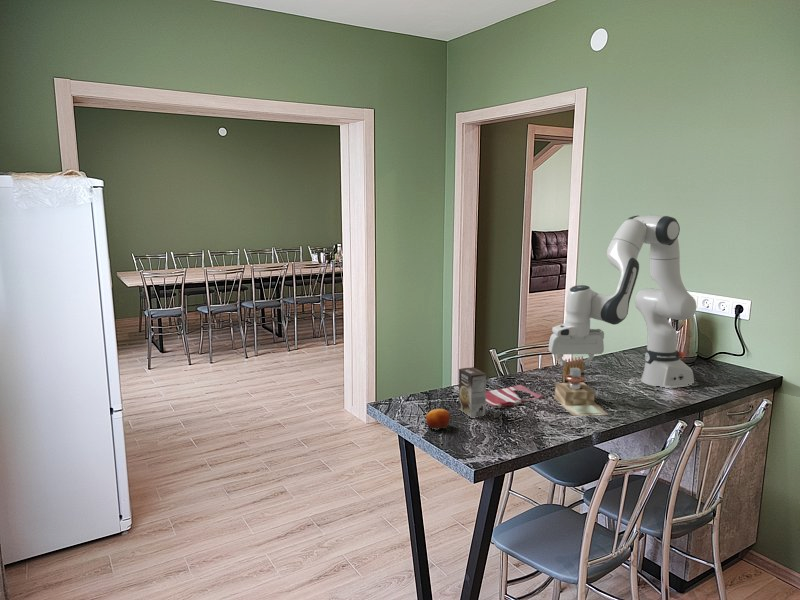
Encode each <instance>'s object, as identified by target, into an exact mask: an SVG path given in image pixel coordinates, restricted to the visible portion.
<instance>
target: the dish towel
mask: <svg viewBox="0 0 800 600" xmlns="http://www.w3.org/2000/svg"><path fill="white" fill-rule="evenodd" d="M515 391H519V392H525V393H528V394H529V395H531V396H533V398H528V399H527V398H526V399H521V398H520V397H519V395H518V394H517V393H516V392H515ZM544 398H545V396H544V395H542V394H539V393H537V392H534V391H532V390H530V389H529V388H527V387H526V386H524V385H521V384H516V385H514V386H510V387H506V388H504V387H503V388H498V389H494V390H486V404H488V405H490V406H492V407H494V408H501V409H503V408H502V407H506V406H513V405H517V404H522V403H524V402H530V401H536V400H540V399H544ZM522 405H523V404H522ZM517 406H518V405H517ZM513 407H514V406H513Z"/></svg>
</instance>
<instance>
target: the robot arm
mask: <svg viewBox="0 0 800 600" xmlns="http://www.w3.org/2000/svg"><path fill="white" fill-rule="evenodd" d="M680 228H681V227H680V224H679V222H678V220H677V219H676V218H674V217H673V216H669V215H664V216H663V215H656V214H651V215H633V216H631V217H628V218H627V219H625V220H624V221H623V222H622V224H621V225H620V226H619V227H618V229H617V230H616V232H615V234H614V235H613V237H612V239H611V241H610V242H609V245H608V247H607V248H606V249H607V250H606V258H607V261H608V262H609V263H610V265H611V266H612V267H614V268H615V269H617V270H618V271H619V273H620V276H619V277H620V278H619V281H618V284H617V285H616V286H617V287H616V290H615V292H614V293H613V294H612V295H608V294H603V293H598V292H596V291H595V290H592V288H591V287H590V286H588V285H584V284H583V285H582V284H581V285H579V284H578V285H574V286H571V287H570V288H569V290H568V292H567V296H566V305H565V310H566V318H565V320H564V321H565V322H564V323H561V324H558V325H555V326H553V327H552V328H551V331H552V333H551V335H550V337H549V341H548V351H549V353H550V354H552V355H557V357H558V359H559V362H560V363H559V364H560V366H561V367H564V366H566V361H565V359H563V358H564V355H588V357H587V359H584V366H591V361H592V360H593V359H594V357H595V355H602V354H603V353H604V350H605V347H604V346H605V345H604V339H605V332H604V331H603V329H601V328H591V320H590V319H594V320H596V321H597V320H598V321H602V322H605V323H607V324H611V325H619V324H620V323H622V322H623V321H624V320H625V319H626V318H627V316H628V314H629V309H630V308H629V307H630V302H631V298H632V295H633V291H634V288H635V286H636V282H637V279H638V275H639V271H640V263H639V261H638V256H639V254H640V252H641V249H642V248H643V245H644V244H648V245H650V247H649V276H650V278H651V279H652V281H654V282H655V283H656V284H657V285H658V288H659V289H658V288H642V289H640V290H639V291H638V292H637V293H636V295H635V298H634V305H635V307H636V309H637V310H638V311H639V312H640V314H641V316H642V317H643V319H644V323H645V325H646V332H647V343H646V348H645V354H644V362H645V363H644V367H643V372H642V375H641V378H640V381H641V383H643V384H645V385H648V386H652V387H656V386H660V387H659V388H662V387H665V388H664V389H666V388H677V387H684V386H689V385H692V383H694V379H695V377H694V372H693V369H692V368H691V367H690V366H688V365H687V364H686V363H685V362H683V361H682V359H683V358H685V357H686V353H684V352H682V351H678V350H677V341H678V340H677V339H678V332H677V330H676V329H675V328H674V327H673V326H672V325H671V323H670V322H669V319H670V320H671V319H672V320H678V321H680V320H682V321H683V320H690V319H691V318H692V317H693V316H694V315H695V314H696V311H697V302H696V300H695V298H694V296H692V295H691V294H690V293H689V292H688V290H687V289H686V287H685V285H684V283H683V281H682V277H681V264H680V263H681V262H680V260H681V257H680V256H681V255H680V244H679V238H678V237H679V235H680V232H681V231H680ZM680 358H682V359H680ZM688 384H689V385H688Z"/></svg>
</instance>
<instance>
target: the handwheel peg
mask: <svg viewBox="0 0 800 600" xmlns="http://www.w3.org/2000/svg"><path fill="white" fill-rule="evenodd" d="M566 380H567V381H570V382H569V388H570V389H571V390H572V389H580V383H581V382H584V383H585V381H586V376H585V374H584V375H581V370H580V369H579V368H570V374H567V375H566Z"/></svg>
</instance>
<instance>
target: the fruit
mask: <svg viewBox="0 0 800 600" xmlns="http://www.w3.org/2000/svg"><path fill="white" fill-rule="evenodd" d="M450 418H451V416H450V412H449V411H448V410H446V409H445V408H434V409H431V410H430V411H429V412H427V414H426V415H425V419H426V420H425V421H426V425H427V426H430V427H431V428H436V429H438V428H446V429H447V427H448V425H449V424H450ZM431 428H430V429H431Z"/></svg>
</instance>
